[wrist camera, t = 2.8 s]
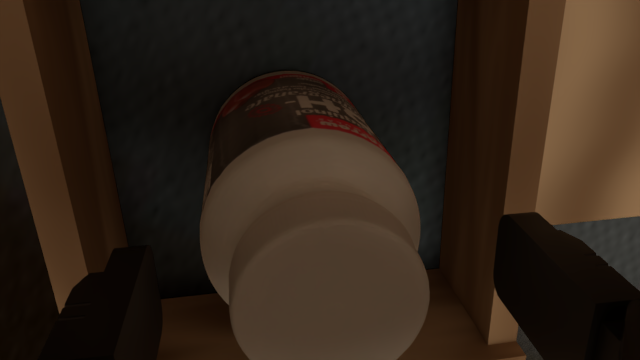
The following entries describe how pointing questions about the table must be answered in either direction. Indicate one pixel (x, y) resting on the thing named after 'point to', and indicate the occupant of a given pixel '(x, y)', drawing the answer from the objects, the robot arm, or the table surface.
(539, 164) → the open wooden box
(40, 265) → the table surface
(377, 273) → the pill bottle
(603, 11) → the flat wooden board
